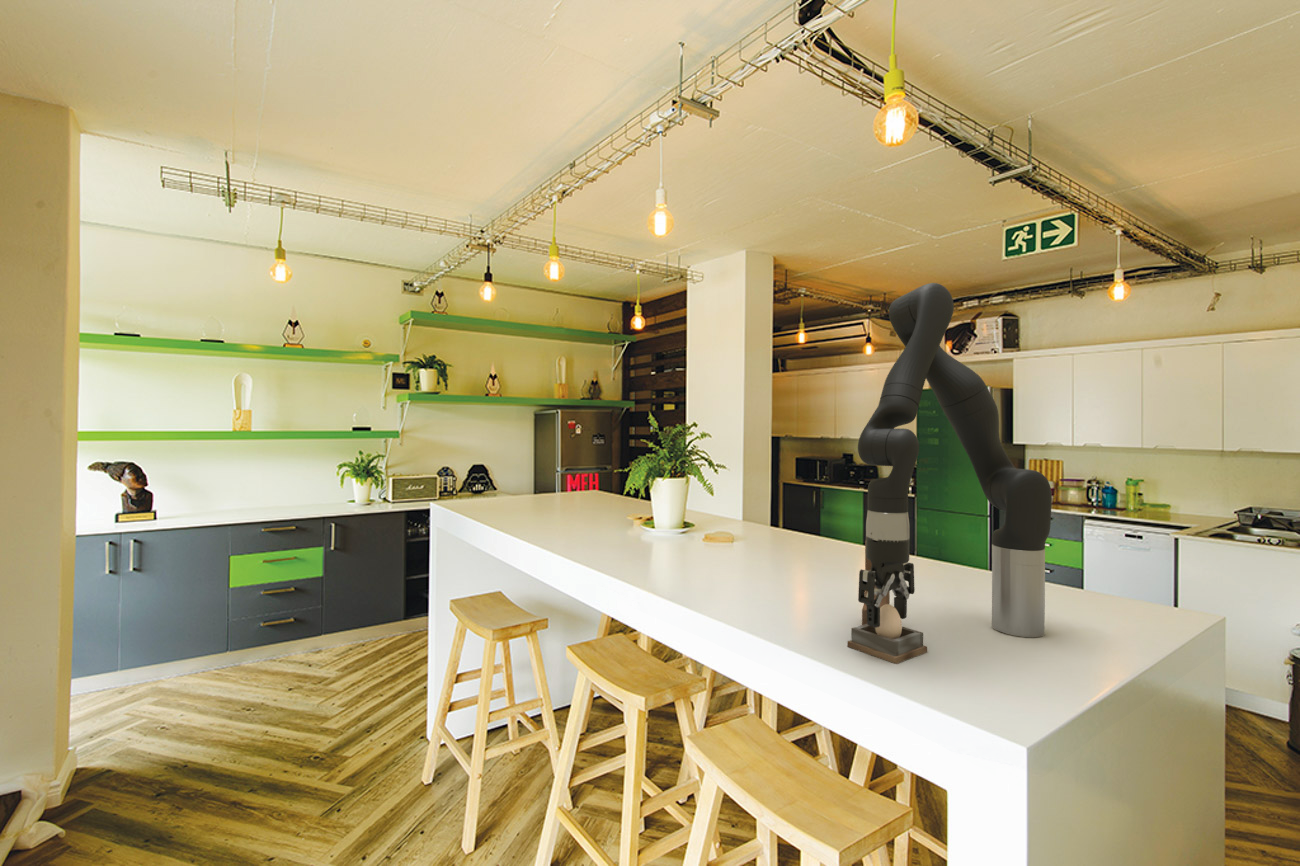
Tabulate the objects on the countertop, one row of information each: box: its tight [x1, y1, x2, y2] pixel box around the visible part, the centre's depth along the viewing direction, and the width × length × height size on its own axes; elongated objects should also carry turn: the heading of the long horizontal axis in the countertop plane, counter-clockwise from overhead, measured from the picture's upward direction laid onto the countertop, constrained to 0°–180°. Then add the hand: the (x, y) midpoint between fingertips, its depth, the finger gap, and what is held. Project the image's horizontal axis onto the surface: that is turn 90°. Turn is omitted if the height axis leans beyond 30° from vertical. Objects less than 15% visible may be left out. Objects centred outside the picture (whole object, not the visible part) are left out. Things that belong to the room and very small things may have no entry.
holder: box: [846, 624, 928, 665], centre depth 109 cm, size 10×10×4 cm
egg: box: [875, 604, 903, 640], centre depth 109 cm, size 5×5×7 cm
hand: (887, 621), depth 109 cm, fingers open, 8 cm apart
